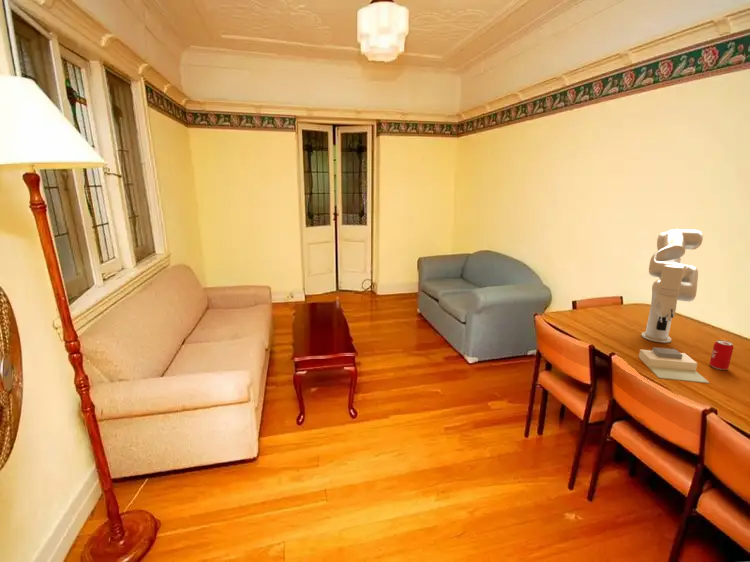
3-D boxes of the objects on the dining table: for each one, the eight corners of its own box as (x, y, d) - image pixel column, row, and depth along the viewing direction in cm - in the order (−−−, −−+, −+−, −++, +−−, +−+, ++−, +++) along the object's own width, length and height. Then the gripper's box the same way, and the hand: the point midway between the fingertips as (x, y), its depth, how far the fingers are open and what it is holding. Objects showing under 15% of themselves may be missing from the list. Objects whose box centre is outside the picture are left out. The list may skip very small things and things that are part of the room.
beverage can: (718, 363, 167) (724, 339, 164) (731, 370, 161) (738, 345, 158) (705, 364, 167) (711, 339, 164) (718, 370, 161) (724, 345, 158)
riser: (638, 357, 174) (640, 349, 173) (683, 361, 170) (685, 353, 169) (648, 367, 165) (649, 358, 164) (695, 371, 161) (697, 363, 160)
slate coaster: (652, 351, 171) (652, 347, 171) (674, 353, 169) (675, 349, 169) (658, 356, 166) (659, 352, 165) (681, 359, 163) (682, 354, 163)
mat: (648, 367, 165) (648, 366, 164) (696, 372, 160) (696, 371, 160) (658, 378, 156) (658, 377, 155) (709, 383, 151) (709, 382, 151)
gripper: (651, 287, 177) (644, 323, 181) (667, 295, 163) (659, 334, 167) (669, 288, 175) (662, 325, 179) (687, 297, 161) (678, 336, 165)
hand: (660, 329), depth 173 cm, fingers closed
